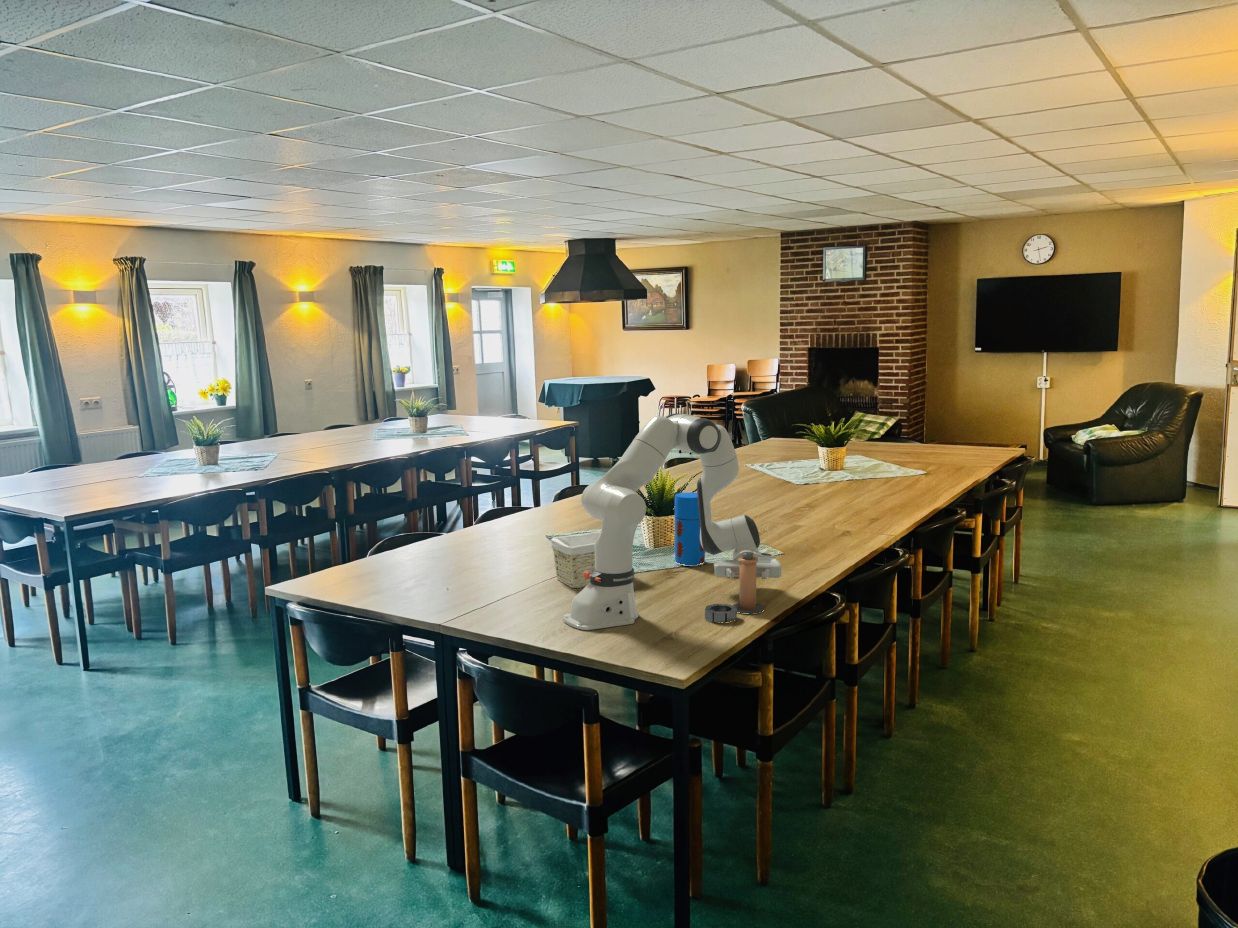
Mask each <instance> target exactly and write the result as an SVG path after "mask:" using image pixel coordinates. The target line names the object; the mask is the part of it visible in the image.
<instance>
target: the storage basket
mask: <svg viewBox="0 0 1238 928" xmlns="http://www.w3.org/2000/svg"><path fill="white" fill-rule="evenodd" d="M601 531H602V530H601ZM601 531H599V530H598V531H593V532H585V533H579V534H570V535H563V536H554V537H552V538H551V549H552V552H553V559H554V567H555V574H556V579H557V580H558V581H560V582H562V584H565V585H566V586H568V587H570V588H573V589H580V588H581V589H582V588H585V587H586V586H587V585H588V584H589V583H590V579H591V578H590V579H587V578H584V577H583V573H584V572H585V571H588V572H590V573H591V574H592V573H593V570H594V569H595V542H596V541H597V539H599V537H600V535H601Z"/></svg>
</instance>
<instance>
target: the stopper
mask: <svg viewBox="0 0 1238 928" xmlns="http://www.w3.org/2000/svg"><path fill="white" fill-rule="evenodd" d="M738 562H740V577H738V578H739V582H738V583H739V585H738V586H739V588H738V589H739V590H738V591H739V597H738V599H739V602H738V603H739V607H740V608H741V609H744V610H753V609H756V603H757V577H756V563H757V562H758V558H757V557H753V553H752V552H744V553H743V556H742V557H739V558H738Z"/></svg>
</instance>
